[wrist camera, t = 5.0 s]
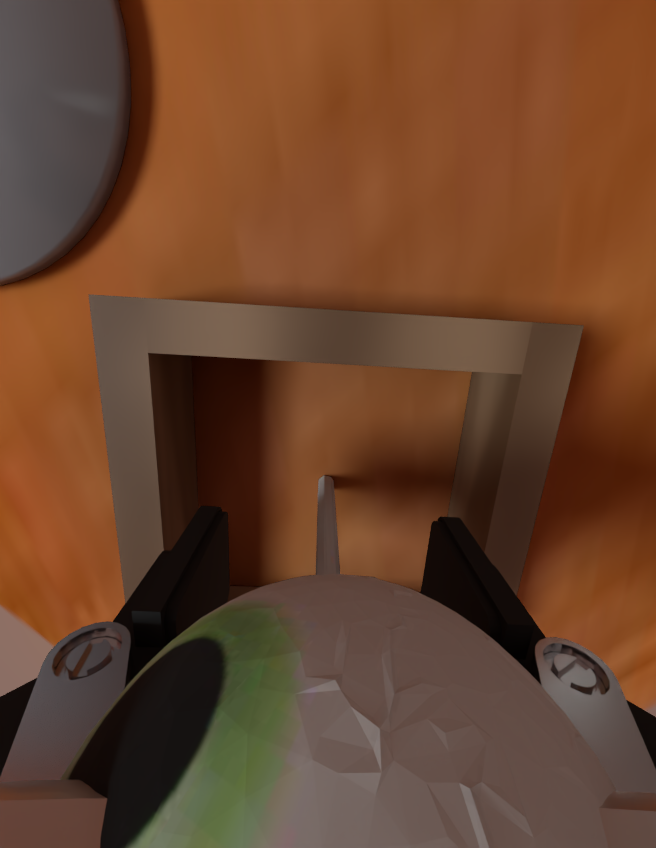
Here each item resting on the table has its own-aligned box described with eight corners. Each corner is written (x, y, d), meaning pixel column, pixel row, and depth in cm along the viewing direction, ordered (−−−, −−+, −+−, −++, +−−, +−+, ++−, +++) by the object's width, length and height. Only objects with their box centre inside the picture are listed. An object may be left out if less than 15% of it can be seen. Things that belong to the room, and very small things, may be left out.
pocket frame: (519, 324, 14) (583, 325, 10) (460, 620, 18) (492, 691, 14) (148, 301, 13) (88, 294, 10) (171, 609, 17) (134, 680, 14)
